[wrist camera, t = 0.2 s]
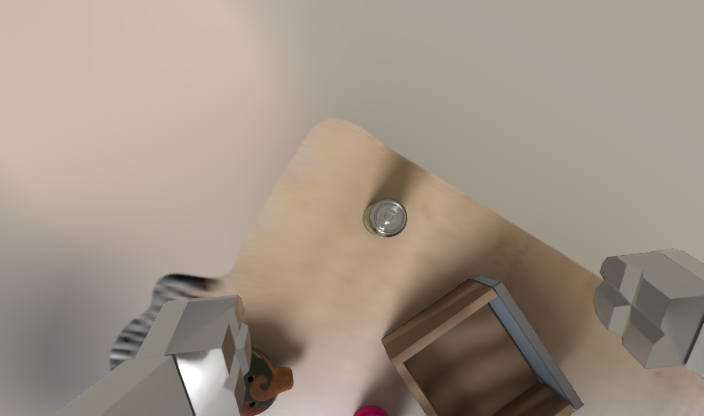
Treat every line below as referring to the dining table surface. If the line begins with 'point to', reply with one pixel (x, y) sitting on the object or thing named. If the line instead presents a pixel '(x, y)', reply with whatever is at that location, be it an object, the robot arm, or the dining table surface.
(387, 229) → the soda can
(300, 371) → the dining table surface
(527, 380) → the box
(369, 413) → the pepper mill
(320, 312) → the dining table surface
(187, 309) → the robot arm
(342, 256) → the dining table surface
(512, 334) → the panel
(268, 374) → the decorative turtle
